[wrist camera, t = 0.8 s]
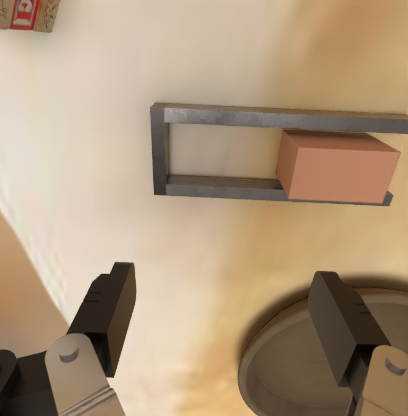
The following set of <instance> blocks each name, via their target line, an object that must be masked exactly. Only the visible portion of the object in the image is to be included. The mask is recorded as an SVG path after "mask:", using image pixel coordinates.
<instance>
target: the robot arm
mask: <svg viewBox="0 0 408 416" xmlns="http://www.w3.org/2000/svg"><path fill="white" fill-rule="evenodd" d="M135 301H136V280H135V267H134V263H129V262H115V263H114V266H113V268H112V270H111V272H110V274H101V275H100V276H98V277H97V278H96V279H95V280H94V281H93V282H92V284H91V286H90V288H89V290H88V292H87V294H86V296H85V298H84V300H83V302H82V304H81V306H80V308H79V310H78V312H77V314H76V316H75V318H74V320H73V322H72V324H71V326H70V328H69V330H68V332H67V334H66V335H65V336H63V337H61V338H59V339H58V340H56V341H55V342H54V343H53V344H52V345H51V346H50V347H49V349H48V350H46V351H44V352H41V353H38V354H33V355H29V356H25V357H21V358H17V359H16V356H15V354H14V353H13V352H11V351H9V350H0V416H125V413H124V411H123V409H122V406H121V404H120V402H119V399H118V397H117V395H116V393H115V391H114V389H113V388H110V386H109V383H108V381H107V379H106V377H110V378H114V376H115V372H116V369H117V365H118V362H119V358H120V355H121V351H122V348H123V344H124V341H125V337H126V334H127V330H128V327H129V323H130V320H131V316H132V313H133V309H134V306H135ZM308 311H309V314H310V316H311V319H312V321H313V324H314V327H315V329H316V332H317V334H318V337H319V339H320V342H321V344H322V347H323V350H324V352H325V355H326V357H327V360H328V362H329V365H330V367H331V370H332V372H333V375H334V378H335V380H336V383H337V385H338V387H350V389H351V391H352V394H353V395H352V397H351V399H350V403H349V406H348V410H347V413H346V416H408V355H407V354H406V353H404V352H403V351H401V350H399V349H397V348H395V347H392V345H391V344H390V342H389V341H388V339H387V337H386V336H385V334H384V333H383V331H382V329H381V328H380V326H379V325H378V323H377V321H376V320H375V318H374V317H373V315H371V312H370V310H369V309H368V307H367V306H365V302H364V301H363V299H362V298H361V296H360V294H359V293H358V292H356V291H355V290H354V289H353V288H352V287H351V286H350V285H347V284H343V283H342V281H341V279H340V278H339V276H338V274H337V273H336V272H328V271H316V272H315V275H314V278H313V281H312V285H311V289H310V292H309V296H308Z"/></svg>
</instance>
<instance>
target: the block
mask: <svg viewBox="0 0 408 416" xmlns="http://www.w3.org/2000/svg"><path fill="white" fill-rule="evenodd" d="M400 154H401V152H399V151H397V150H396V149H394V148H392V147H390V146H388V145H387V144H385V143H383V142H381V141H379V140H378V139H376V138H374V137H372V136H370V135H369V134H367V133H349V132H328V131H307V130H286V129H283V132H282V138H281V144H280V150H279V156H278V162H277V168H276V175H277V177H278V179H279V181H280V183H281V185H282V187H283V189H284V191H285V193H286V195H287V197H288V199H301V200H322V201H343V202H363V203H382V202H383V200H384V197H385V194H386V191H387V189H388V186H389V183H390V181H391V178H392V175H393V173H394V170H395V167H396V164H397V162H398V159H399V156H400Z"/></svg>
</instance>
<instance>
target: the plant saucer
mask: <svg viewBox="0 0 408 416" xmlns="http://www.w3.org/2000/svg"><path fill="white" fill-rule="evenodd" d="M353 289H354V290H355V291H356V292H358V293H359V294H360V296H361V298H362V299H363V301H364V302H365V306H367V307H368V309H369V310H370V312H371V315H373V317H374V318H375V320H376V321H377V323H378V325H379V326H380V328H381V329H382V331H383V333H384V334H385V336H386V337H387V339H388V341H389V342H390V344H391V345H392V347H395V348H397V349H399V350H401V351H403V352H404V353H406V354H407V355H408V292H404V291H399V290H388V289H383V288H374V287H354V288H353ZM238 386H239V390H240V393H241V396H242V398H243V400H244V401H245V403H246V404H247V406H248V407H249V408H250V409H251V410H252V411H253V412H254V413H255V414H256V415H258V416H346V413H347V410H348V406H349V403H350V399H351V397H352V395H353V394H352V391H351V389H350V387H338V385H337V383H336V380H335V378H334V375H333V372H332V370H331V367H330V365H329V362H328V360H327V357H326V355H325V352H324V350H323V347H322V344H321V342H320V339H319V337H318V334H317V332H316V329H315V327H314V324H313V321H312V319H311V316H310V314H309V311H308V298H305V299H303V300H301V301H298V302H296V303H294V304H292V305H291V306H289V307H287V308H285V309H284V310H282V311H281V312H279V313H278V314H277V315H276V316H274V317H273V318H272V319H271V320H270V321H269V322H268V323H267V324H266V325H265V326H264V327H263V328H262V329H261V330H260V331H259V332H258V333H257V334H256V335H255V337H254V338H253V339H252V340H251V342H250V343H249V345H248V347H247V349H246V350H245V352H244V354H243V356H242V359H241V362H240V365H239V370H238Z"/></svg>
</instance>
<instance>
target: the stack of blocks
mask: <svg viewBox="0 0 408 416" xmlns="http://www.w3.org/2000/svg"><path fill="white" fill-rule="evenodd" d="M59 2H60V0H0V29H15V30H33V31H40V32H52V29H53V25H54V21H55V17H56V13H57V9H58V6H59Z"/></svg>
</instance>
